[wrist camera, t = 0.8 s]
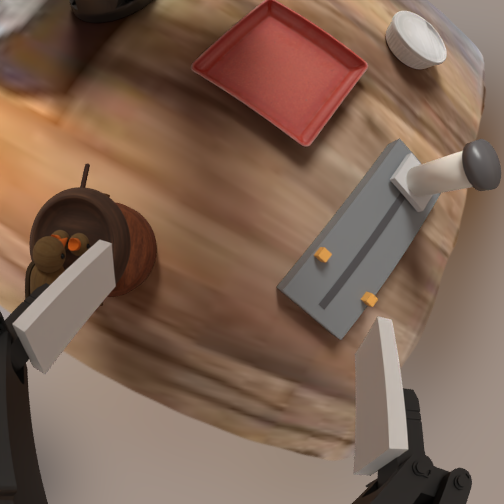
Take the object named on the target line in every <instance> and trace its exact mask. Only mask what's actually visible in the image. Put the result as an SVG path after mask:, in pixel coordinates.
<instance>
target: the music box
mask: <svg viewBox="0 0 504 504" xmlns="http://www.w3.org/2000/svg"><path fill="white" fill-rule="evenodd" d="M89 167H90V165H89V164H86V165H85V168H84V172H83V177H82V182H81V186H80V188H71V189H67V190H64V191H62V192H60V193H58V194H56V195H55V196H53V197H52V198H51V199H49V200H48V201H47V202H46V203H45V204H44V206H43V207H42V208H41V209H40V211H39V213H38V214H37V216H36V218H35V220H34V223H33V226H32V229H31V234H30V255H31V260H32V262H31V263H30V264H29V266H28V268H27V271H26V278H25V299H26V298H27V297H28V296H30V294H31V293H32V292H33V291H34V290H35V289H36V288H38V287H40V286H42V285H43V284H45V283H47V284H49V285H51V284H52V283H53V282H54V281H55V280H56V279H57V278H58V277H59V276H60V275H61V274H62V273H63V272H64V271H65V270H67V269H68V268H69V267H70V266H71V265H72V264H73V263H74V262H75V261H76V260H77V259H78V258H80V257H81V256H82V255H83V254H84V253H85V252H86V251H87V250H88V249H90V248H91V247H92V246H93V245H94V244H95V243H96V242H98V241H99V240H103V241H106V242H109V243H112V254H113V265H114V275H115V284H116V286H115V288H114V289H113V290H112V291H111V292H110V293H109V295H108V296H107V297H114V296H120V295H123V294H125V293H128V292H130V291H131V290H133V289H134V288H136V287H137V286H139V285H140V284H141V283H142V282H143V281H144V280H145V279H146V278H147V277H148V275H149V274H150V272H151V270H152V268H153V266H154V263H155V258H156V240H155V236H154V233H153V230H152V228H151V226H150V225H149V223H148V222H147V220H146V219H145V218H144V217H143V216H142V215H141V214H140V213H138V212H137V211H135V210H133V209H131V208H129V207H127V206H125V205H123V204H120V203H115V202H114V201H113V200H112V199H110V198H109V197H110V195H108V194H103V193H101V192H99V191H97V190H94V189H90V188H85V186H86V181H87V176H88V172H89ZM102 305H103V302H102V303H101V304H100V305H99V306H102Z"/></svg>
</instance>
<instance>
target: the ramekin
mask: <svg viewBox="0 0 504 504" xmlns="http://www.w3.org/2000/svg"><path fill="white" fill-rule="evenodd" d="M386 40H387V44H388V46H389V48H390V50H391V51H392V53H393V54H394V55H395V56H396V57H397V58H398V59H399V60H400V61H401V62H402V63H404V64H405V65H407V66H409V67H411V68H414V69H426V68H428V67H431V66H434V65H439V64H441V63H443V62H444V61H445V59H446V55H447V54H446V48H445V45H444V42H443V40H442V38H441V37H440V35H439V34H438V32H437V31H436V30H435V29H434V27H433V26H432V25H431V24H430V23H428V22H427V21H426V20H425V19H423V18H422V17H420V16H419V15H417V14H415V13H412V12H409V11H400V12H397V13H396V14H395V15H394V16H393V18H392V22H391V23H390V25H389V27H388V28H387V31H386Z"/></svg>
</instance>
